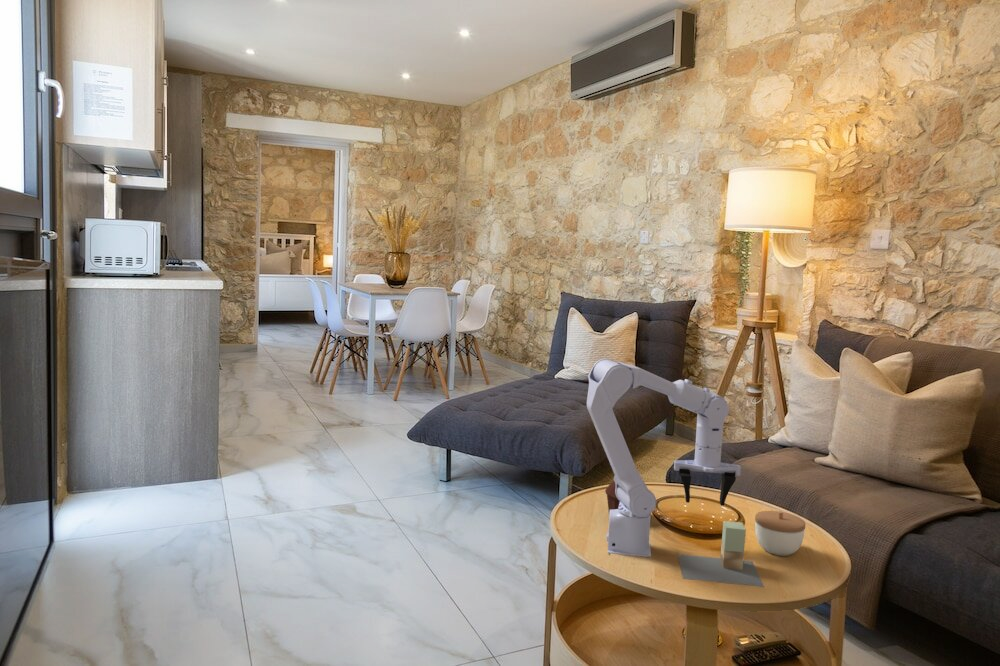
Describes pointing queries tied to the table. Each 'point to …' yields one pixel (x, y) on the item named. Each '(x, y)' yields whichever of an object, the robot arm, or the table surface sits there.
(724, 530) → the green block
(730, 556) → the beech cube
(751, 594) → the table surface
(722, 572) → the slate mat
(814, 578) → the table surface
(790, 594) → the table surface
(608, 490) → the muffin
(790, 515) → the lidded jar
